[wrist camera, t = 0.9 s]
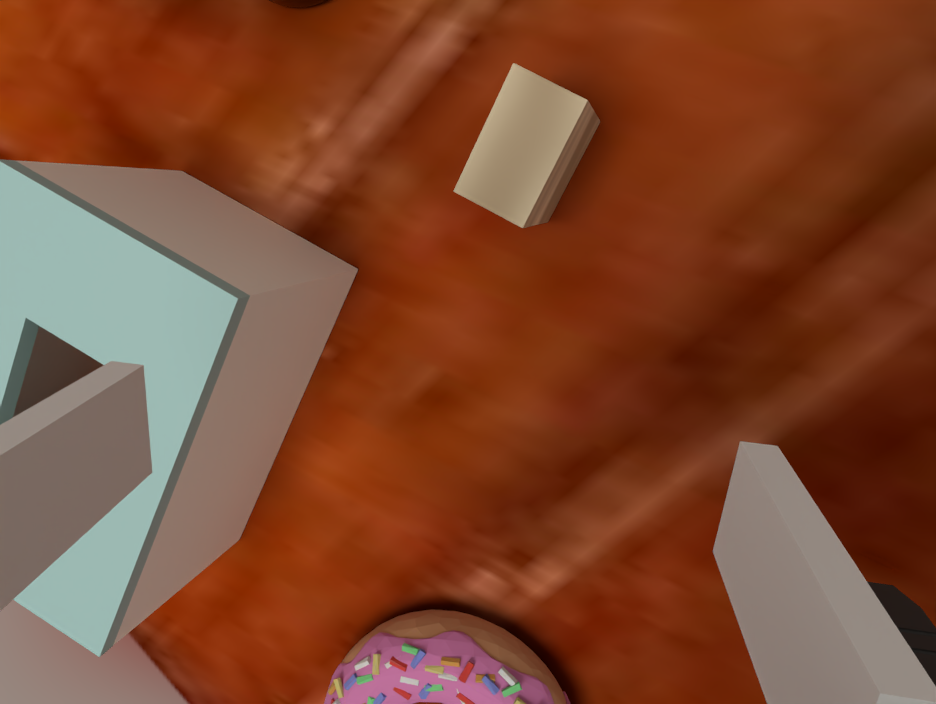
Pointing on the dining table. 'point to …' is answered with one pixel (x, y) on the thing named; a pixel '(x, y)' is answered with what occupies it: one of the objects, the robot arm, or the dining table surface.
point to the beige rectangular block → (528, 149)
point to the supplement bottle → (297, 3)
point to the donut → (442, 664)
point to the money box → (158, 362)
